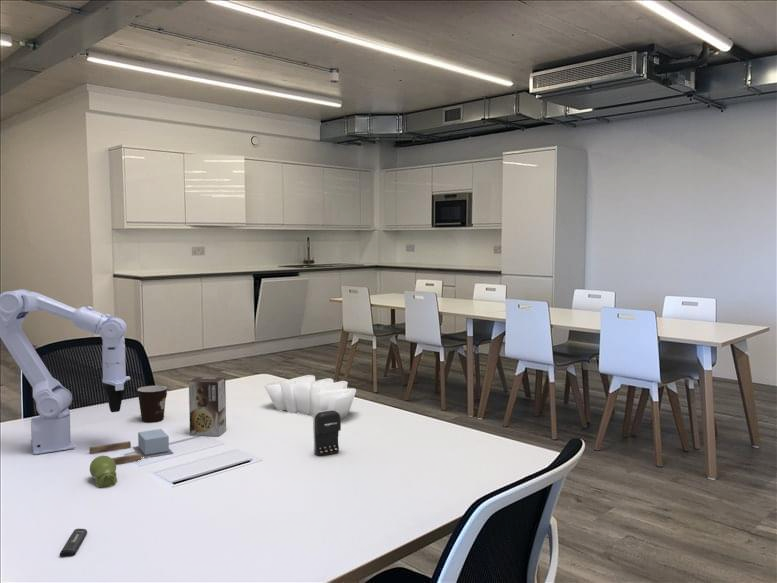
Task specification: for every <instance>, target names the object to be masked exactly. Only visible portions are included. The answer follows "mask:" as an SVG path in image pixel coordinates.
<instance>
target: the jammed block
mask: <svg viewBox="0 0 777 583" xmlns="http://www.w3.org/2000/svg"><path fill="white" fill-rule="evenodd" d="M137 436H138V437H137V438H138V439H137V440H138V441H137V442H138V444H137V446H138V447H139V448H140V449H141V451H142V452H143V453H144V454H145V455H148V454H154V453H160V452H166V451H169V449H170V446H169V445H170V444H169V443H170V440H169V439H170V437H169V435H168V434H167V433H166V432H165V431H164V430H163V429H162V428H158V429H151V430H144V431H138V432H137Z"/></svg>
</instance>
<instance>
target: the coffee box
mask: <svg viewBox="0 0 777 583" xmlns="http://www.w3.org/2000/svg"><path fill="white" fill-rule="evenodd" d="M188 400H189V401H188V405H189V410H188V411H189V413H188V414H189V436H201V437H203V436H204V437H206V436H207V437H220V436H221V435H223V434H224V433H225V432H227V407H226V406H227V401H226V400H227V397H226V377H224V376H223V377H222V376H221V377H218V376H217V377H215V376H196V377H194V378H192V379H191V380H189V381H188Z"/></svg>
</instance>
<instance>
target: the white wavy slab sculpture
mask: <svg viewBox="0 0 777 583" xmlns="http://www.w3.org/2000/svg"><path fill="white" fill-rule="evenodd" d="M334 380H335V379H333V378H323V379H318V380H316V376H315V375H313V374H306V375H302V376H297V377H294V378H290V379H286V380H282V381H276V382H270V383H266V384H265V385H264V388H265V390H266V392H267V394H268V396H269V398H270V400H271V402H272V403H273V406H274V408H275V409H277V411H279V410H282V411H281V412H284V411H283V410H287V411H286V412H287V413H288V412H290V413H289V414H297V413H296V412H299V413H298V414H302V413H303V414H302V415H306V414H309V415H308V416H311V417H314V415H315V414H316V413H317V412H320V411H326V410H335V411H336V412H338V413H339V414H340V418H342V419H343V417H344V418H345V417H347V416H348V415H349V413H350V410H351V407H352V404H353V402H354V398H355V395H356V393H357V389H356V388H352V387H351V388H349V387H348V383H349V382H348V381H347V380H346V381H345V380H340V381H339V380H338V381H335V382H334ZM310 414H311V415H310ZM312 415H313V416H312Z"/></svg>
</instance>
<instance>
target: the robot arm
mask: <svg viewBox="0 0 777 583" xmlns="http://www.w3.org/2000/svg"><path fill="white" fill-rule="evenodd" d="M34 311H35V312H36V311H42V312H46V313H48V314H50V315H55V316H57V317H61V318H64V319H66V320H70V321H71V324H73V326H74V327H75V328H78V329H79V330H83V331H85V332H89V333H92V334H94V335H99V336H100V338H101V340H102V347H101V351H102V355H101V356H102V379H101V382H102V383H103V384H106V385H103V386H102V387H101V388H102V389H103V391H104V393H105V396H106V398H107V402H108V406H109V407H108V408H109V411H110V413H117V412H120V411H121V406H122V401H123V398H124V395H125V393H126V391H127V389H128V388H127V386H126V384H125V383H126V382H127V381H131V376H129V375H128V376H126V375H127V373H126V372H127V371H126V368H127V367H126V366H127V365H126V344H125V343H126V340H125V335H126V332H127V331H128V329H127V328H128V326H127V323H126V322H125V320H123V319H122V318H120V317H119V316H113V317H112V315H111V314H110V313H106V314H104V313H102V312H99V311H98V310H97V311H96V310H94V307H92V306H89V305H88V306H87V307H86V306H81V307H78V308H74V307H73V306H70V305H67V304H65V303H63V302H60V301H58V300H56V299H54V298H51V297H49V296H46V295H44V294H41V293H40V292H36V291H30V290H28V289H24V288H22V289H21V288H18V289H16V290H11V291H10V290H9V291H4V292H2V293H0V340H1V341H2V342H3V344H4V345H5V348H6V349H7V350H8V352H9V353H10V355H11V357H12V358H13V360H14V361H15V363H16V365H18V367H19V369H20V371H21V372H22V374H23V375H24V376H25V378H26V380H27V381H28V383H29V384H30V386H31V387H32V398H33V399H34V401H35V406H36V407H35V408H36V412H37V413H38V414H39V416H38V417H33V418H31V419H30V432H31V433H30V434H31V435H30V436H31V438H30V447H31V449H32V453H33V454H34V455H40V454H47V453H53V452H60V451H65V450H73V449H75V446H74V444H73V442H72V440H71V439H72V438H71V411H70V409H69V407H70V405H71V404H72V401H73V394H72V392H71V391H70V390H69V389H67V388H66V387H64V386H63V385H62V384H61V382H60V381H59V380H58V379H56V378H54V377H53V376H52V374H51V373H50V371H49V369H48V368H47V367H46V364H45V363H44V362H43V361H42V359H41V357H40V355H39V354H38V353H37V350H36V349H35V348H34V346H33V345H32V343H31V342H30V340H29V338H28V337H27V335H26V334H25V331H24V330H23V328H22V325H23V323H24V321H25V319H26V317H27V315H28V314H29V313H30V312H34Z"/></svg>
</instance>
